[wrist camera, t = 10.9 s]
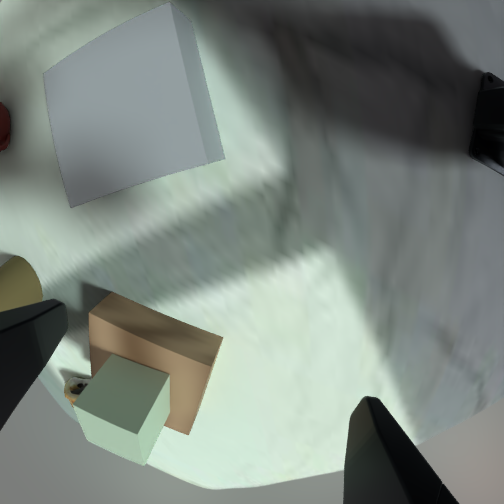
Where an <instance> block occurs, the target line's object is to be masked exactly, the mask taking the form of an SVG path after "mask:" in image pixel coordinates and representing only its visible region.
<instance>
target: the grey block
mask: <svg viewBox="0 0 504 504" xmlns="http://www.w3.org/2000/svg"><path fill="white" fill-rule="evenodd" d="M43 76H44V85H45V92H46V100H47V106H48V113H49V119H50V124H51V130H52V135H53V140H54V145H55V150H56V154H57V159H58V163H59V167H60V171H61V175H62V179H63V183H64V187H65V190H66V194H67V197H68V201H69V204H70V208H73V207H75V206H78V205H81V204H83V203H86V202H89V201H91V200H94V199H97V198H100V197H102V196H105V195H108V194H111V193H114V192H117V191H119V190H122V189H125V188H128V187H131V186H134V185H138V184H141V183H144V182H147V181H150V180H153V179H157V178H160V177H163V176H166V175H170V174H173V173H177V172H180V171H184V170H187V169H191V168H194V167H198V166H202V165H205V164H209V163H213V162H216V161H220V160H223V159H225V155H224V151H223V147H222V143H221V139H220V135H219V131H218V127H217V123H216V119H215V115H214V111H213V107H212V103H211V99H210V95H209V91H208V87H207V83H206V79H205V74H204V70H203V66H202V62H201V58H200V54H199V50H198V46H197V42H196V38H195V34H194V30H193V26H192V22H191V20H190V19H188V18H187V17H186V16H185V15H184V14H183V13H182V12H181V11H180V10H178V9H177V8H176V7H175V6H174V5H173V4H172V3H170V2H168V3H165V4H163V5H160V6H158V7H156V8H154V9H151V10H149V11H147V12H145V13H143V14H141V15H138V16H136V17H134V18H132V19H130V20H128V21H126V22H124V23H122V24H121V25H119V26H117V27H115V28H113V29H111V30H109V31H108V32H106V33H104V34H102V35H101V36H99V37H97V38H95V39H94V40H92V41H90V42H89V43H87V44H86V45H84V46H82V47H81V48H79V49H78V50H76V51H75V52H73V53H72V54H70V55H69V56H67V57H66V58H64V59H63V60H61V61H60V62H58V63H57V64H56V65H54V66H53V67H51V68H50V69H49V70H47V71H46V72H45V73H43Z"/></svg>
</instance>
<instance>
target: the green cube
mask: <svg viewBox="0 0 504 504" xmlns="http://www.w3.org/2000/svg"><path fill="white" fill-rule="evenodd" d="M73 407H74V410H75V412H76V415H77V417H78V420H79V422H80V425H81V427H82V429H83V431H84V434H85V436H86V438H87V441H89V442H91V443H93V444H95V445H97V446H100V447H101V448H104V449H106V450H108V451H110V452H112V453H114V454H116V455H119V456H121V457H123V458H126V459H128V460H130V461H133V462H135V463H138V464H140V465H143V466H145V464H146V462H147V459H148V457H149V455H150V453H151V451H152V449H153V447H154V445H155V443H156V441H157V438H158V436H159V434H160V432H161V430H162V428H163V426H164V424H165V422H166V420H167V417H168V415H169V413H170V374H167V373H164V372H161V371H158V370H155V369H152V368H149V367H146V366H144V365H141V364H138V363H135V362H133V361H130V360H127V359H125V358H122V357H120V356H117V355H115V354H111V356H110V357H109V358H108V359H107V361H106V362H105V363H104V364H103V366H102V367H101V368H100V369H99V371H98V372H97V373H96V375H95V376H94V377H93V378H92V380H91V381H90V382H89V384H88V385H87V386H86V387H85V389H84V390H83V391H82V393H81V394H80V395H79V397H78V398H77V399H76V401H75V402H74V403H73Z"/></svg>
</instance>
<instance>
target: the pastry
mask: <svg viewBox="0 0 504 504" xmlns="http://www.w3.org/2000/svg"><path fill="white" fill-rule="evenodd" d="M91 380H92V379H81V378H77V377H72V378H70V379H69V380H68V381H67V382H66V384H65V388H64V393H65V397H66V398H68V399H69V401H70V403H71V405H72V407H73V403H74V402H75V401H76V399H77V398H78V397H79V395H80V394H81V393H82V391H83V390H84V389H85V387H86V386H87V385H88V384H89V382H90V381H91ZM73 408H74V407H73Z"/></svg>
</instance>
